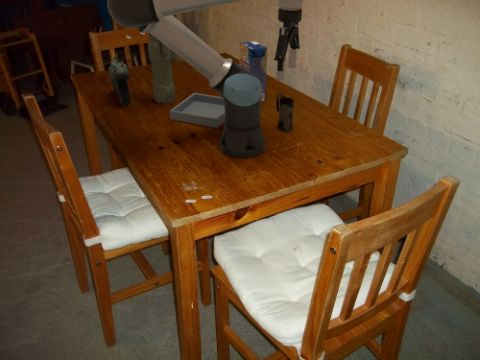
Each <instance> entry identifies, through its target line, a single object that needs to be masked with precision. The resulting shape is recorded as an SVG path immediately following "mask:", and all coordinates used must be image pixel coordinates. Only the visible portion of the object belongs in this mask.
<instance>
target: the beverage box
mask: <svg viewBox="0 0 480 360" xmlns="http://www.w3.org/2000/svg"><path fill="white" fill-rule="evenodd" d="M267 63H268V47H267V46H265V45H263V44H261V43H259V42H257V41H256V40H253V41H246V42H239V65H241V66H243V67H245V68H246V69H247V70H248V71H249V72H250V74H251V75H252V77H256V78H257V79H258V80H259V81H260V83H261V88H262V96H261V102H265V101H266V94H267V93H266V92H267V91H266V90H267V69H268V68H267V67H268V65H267Z"/></svg>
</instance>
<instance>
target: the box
mask: <svg viewBox="0 0 480 360" xmlns="http://www.w3.org/2000/svg"><path fill="white" fill-rule="evenodd" d="M169 118H170V121H171V120H172V121H178V122H181V123H182V122H183V123H189V124H193V125H197V126H198V125H199V126H204V127H208V128H209V127H210V128H216V129H219V128H220V126H222V125H223V124H224V123H225V107H224V100H223V97H222V96H216V95H209V94H203V93H199V92H198V93H197V92H193V93H192V94H191V95H189V96H188V97H187V98H185V99H184V100H182V101H181V102H179V103H178V104H177V105H175V106H174V107H173V108H171V109H170V110H169Z"/></svg>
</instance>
